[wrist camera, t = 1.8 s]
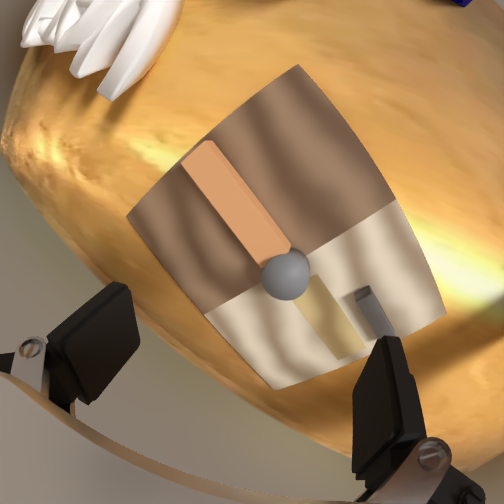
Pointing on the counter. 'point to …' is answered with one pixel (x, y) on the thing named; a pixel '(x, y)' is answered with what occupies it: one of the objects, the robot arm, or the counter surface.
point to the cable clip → (462, 2)
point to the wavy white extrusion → (105, 36)
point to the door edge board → (295, 239)
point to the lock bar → (249, 222)
